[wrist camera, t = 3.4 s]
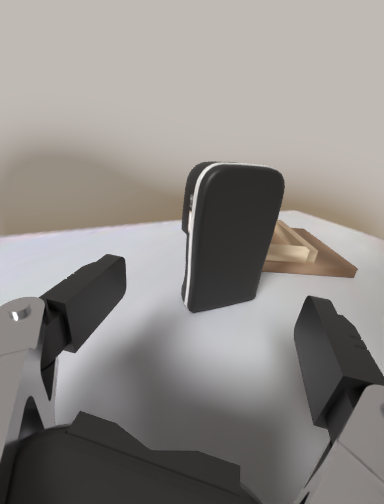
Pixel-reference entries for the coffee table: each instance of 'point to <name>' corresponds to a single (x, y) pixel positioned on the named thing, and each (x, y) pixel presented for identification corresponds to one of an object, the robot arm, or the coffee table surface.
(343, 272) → the board
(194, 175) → the battery charger
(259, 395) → the coffee table surface
